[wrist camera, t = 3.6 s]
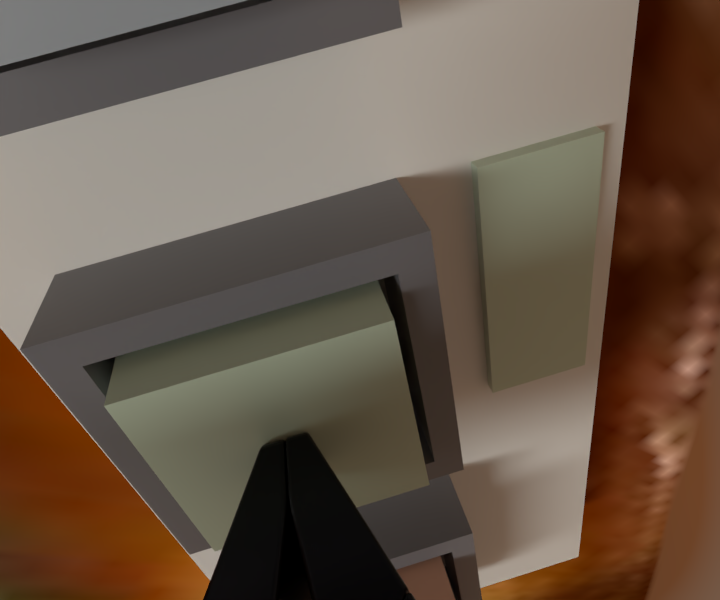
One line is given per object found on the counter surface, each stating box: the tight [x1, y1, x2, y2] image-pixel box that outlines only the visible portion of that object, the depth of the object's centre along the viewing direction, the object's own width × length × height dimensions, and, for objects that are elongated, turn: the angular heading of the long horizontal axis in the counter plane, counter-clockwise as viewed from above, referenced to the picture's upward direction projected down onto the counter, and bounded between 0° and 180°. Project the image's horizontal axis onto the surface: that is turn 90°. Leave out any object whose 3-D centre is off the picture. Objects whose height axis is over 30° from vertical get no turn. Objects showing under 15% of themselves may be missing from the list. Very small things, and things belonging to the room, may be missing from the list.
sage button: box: [104, 280, 429, 551], centre depth 10 cm, size 4×4×2 cm
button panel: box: [0, 0, 639, 600], centre depth 11 cm, size 28×12×4 cm, turn 12°
